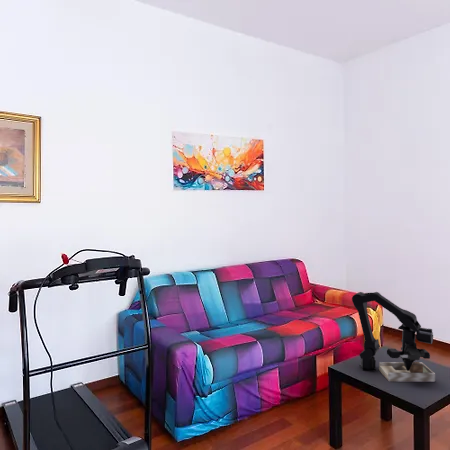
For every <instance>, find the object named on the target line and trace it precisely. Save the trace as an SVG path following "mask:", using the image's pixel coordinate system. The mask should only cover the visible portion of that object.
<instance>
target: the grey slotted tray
mask: <svg viewBox="0 0 450 450" xmlns="http://www.w3.org/2000/svg"><path fill="white" fill-rule="evenodd" d="M418 362H419V361H418ZM419 363H420V364H422V365H423V373H411V372H410V371H407V370H406V367H405V365H404V362H403V361H402V362H401V361H399V362H398V361H397V362H396V361H393V362H391V361H390V362H389V361H388V362H387V361H385V362H383V361H379V362H378V371H379V372H380V373H381V374H382V376H384V377H385V379H386V380H387V381H388V382H405V383H406V382H422V383H423V382H427V383H428V382H432V383H433V382H436V373H435V372H434V371H433V370H432V369H430V367H428V366H427V365H426V364H425V363H424V362H419Z"/></svg>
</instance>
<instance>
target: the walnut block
mask: <svg viewBox="0 0 450 450" xmlns="http://www.w3.org/2000/svg"><path fill="white" fill-rule="evenodd" d="M409 371H410V372H411V373H423V365H422V364H420V363H419V361H414V362H413V363H412V365H411V367H410V369H409Z"/></svg>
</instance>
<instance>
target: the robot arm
mask: <svg viewBox="0 0 450 450" xmlns="http://www.w3.org/2000/svg"><path fill="white" fill-rule="evenodd" d="M351 302H352V304H353V306H354V308H355V310H357V312H358V318H359V321H360V326H361V330H362V335H363V337H364V338H363V339H364V340H363V341H364V342H363V350H362V351H361V353H359V357H360V364H358V365H359V367H360V369H361V370H362V371H363V372H366V371H367V372H373V371H374V372H376V371H377V369H376V366H377V364H376V363H377V362H376V358H375V356H376V355H377V354H378V352H379V351H380V347H381V345H380V342H379V341H380V340H379V339H378V338H377V339H376V338H375V336H374V333H373V330H372V329H373V328H372V326H371V321H370V317H369V312H368V303H370V302H375V303H376V304H378V305H380V306H381V307H382V308H384V309H385V310H387V311H388V312H389V313H391V314H392V315H394V316H395V317H396V319H397V320H398V321H399V322H400V323H401V325H400V326H398V328H397V329H398V330H402V334H401V335H402V337H401V338H402V339H400V341H401V347H400V350H397V349H396V348H387V350H386V355H387V356H388V357H390V358H391V359H399V358H400V359H401V360H402V362H404V365H405V367H406V370H407V371H409V369H410V367H411V365H412V363H413V362H416V361H421V358H422V359H426V360H427V359H428V360H429V359H431V354H430V352H429V351H427V350H426V349H425V348H418V346H417V345H418V344H417V342H416V340H417V341H418V342H419V343H425V344H430V345H432V344H433V341H434V332H433V329H432V328H425V327H422V325H421V324H420V322H419V321H418V319H417V315H416V314H415V313H414V312H411V311H409V310H407V309H404V308H401V307H400V306H398V305H397V304H395V303H394V302H392V301H391V300H389V299H388V298H386V297H385V296H384V295H382V294H381V293H380V292H377V291H375V292H362V291H359V292H358V291H357V293H355V294H354V295H352V297H351Z"/></svg>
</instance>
